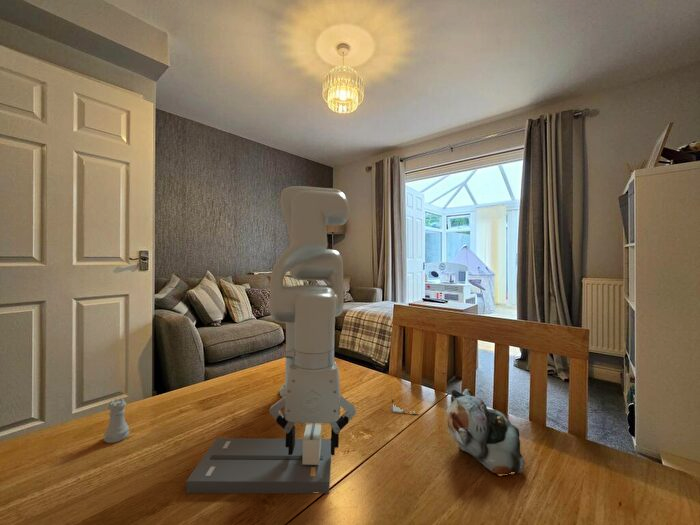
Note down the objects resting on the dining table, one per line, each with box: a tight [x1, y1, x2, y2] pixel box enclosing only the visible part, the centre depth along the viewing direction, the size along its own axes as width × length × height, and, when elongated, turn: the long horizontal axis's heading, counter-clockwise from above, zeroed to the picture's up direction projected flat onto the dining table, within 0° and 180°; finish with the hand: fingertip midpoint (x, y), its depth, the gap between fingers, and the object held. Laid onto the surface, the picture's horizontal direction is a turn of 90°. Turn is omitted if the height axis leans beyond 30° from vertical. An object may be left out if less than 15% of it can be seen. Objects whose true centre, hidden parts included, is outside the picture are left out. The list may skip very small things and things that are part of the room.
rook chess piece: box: [103, 398, 131, 444], centre depth 65 cm, size 4×4×8 cm
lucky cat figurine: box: [445, 388, 525, 475], centre depth 62 cm, size 15×12×14 cm
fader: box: [302, 423, 323, 465], centre depth 57 cm, size 3×5×5 cm, turn 1°
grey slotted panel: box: [185, 437, 332, 494], centre depth 57 cm, size 24×12×2 cm, turn 91°
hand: (312, 449), depth 57 cm, fingers open, 7 cm apart
